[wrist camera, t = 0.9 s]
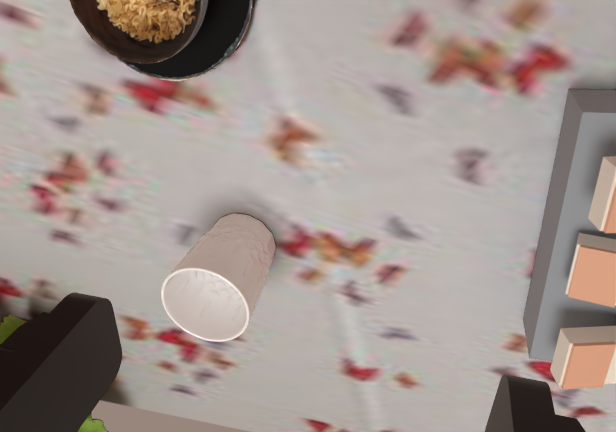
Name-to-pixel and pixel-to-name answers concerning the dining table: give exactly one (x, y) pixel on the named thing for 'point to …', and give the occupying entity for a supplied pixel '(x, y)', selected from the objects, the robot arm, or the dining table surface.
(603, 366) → the rocker
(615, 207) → the block
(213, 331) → the white cup
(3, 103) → the dining table surface
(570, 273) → the rocker
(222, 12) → the soup bowl
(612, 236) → the switch unit
